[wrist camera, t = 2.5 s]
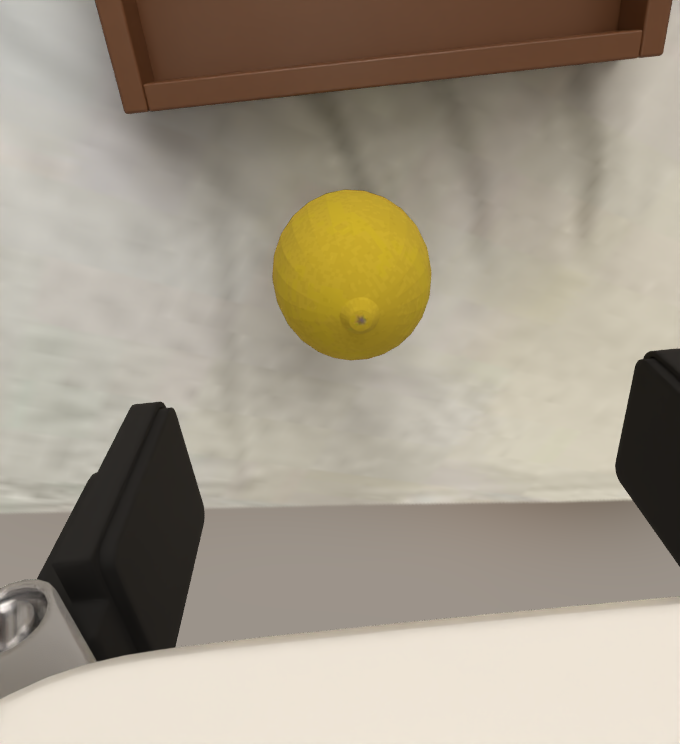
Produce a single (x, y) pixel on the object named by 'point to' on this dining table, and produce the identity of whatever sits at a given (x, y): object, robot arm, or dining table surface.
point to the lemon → (352, 274)
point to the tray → (355, 43)
